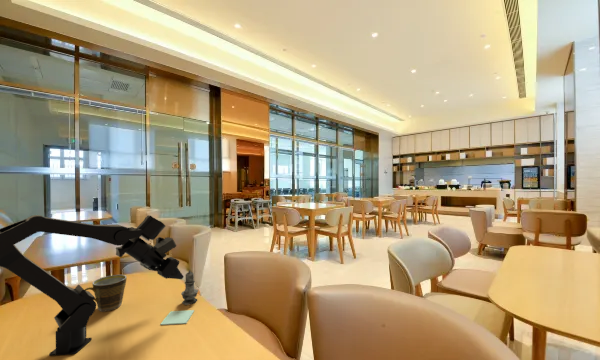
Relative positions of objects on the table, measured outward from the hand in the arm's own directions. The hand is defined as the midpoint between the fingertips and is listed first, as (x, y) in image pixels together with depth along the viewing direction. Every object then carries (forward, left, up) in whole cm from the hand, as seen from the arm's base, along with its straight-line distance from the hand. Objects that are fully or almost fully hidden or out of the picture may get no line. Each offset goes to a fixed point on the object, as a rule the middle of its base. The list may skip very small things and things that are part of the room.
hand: (176, 275), depth 93 cm
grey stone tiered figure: (+4, -4, -12) cm, 13 cm away
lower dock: (-8, -4, -11) cm, 14 cm away
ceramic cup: (+1, +25, -12) cm, 28 cm away
